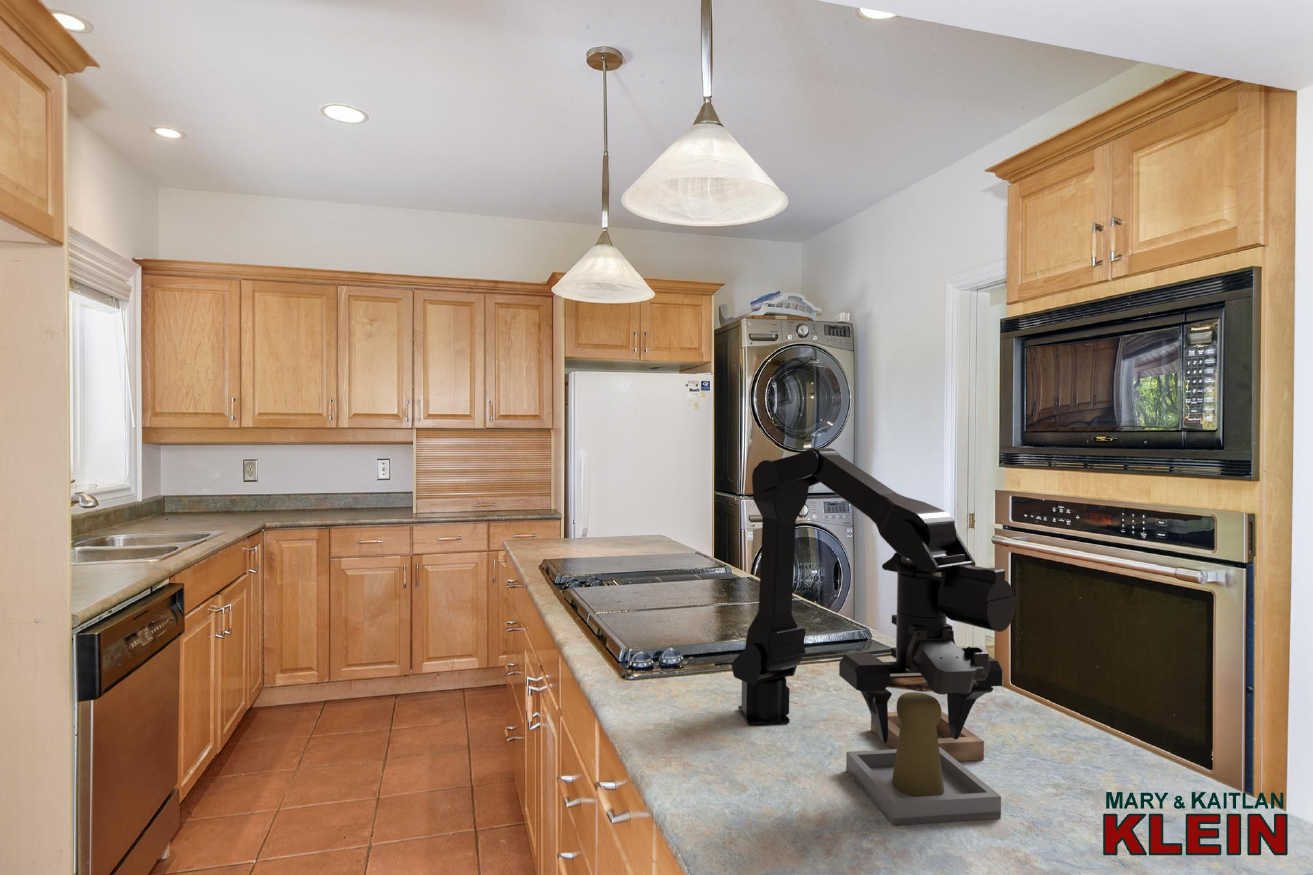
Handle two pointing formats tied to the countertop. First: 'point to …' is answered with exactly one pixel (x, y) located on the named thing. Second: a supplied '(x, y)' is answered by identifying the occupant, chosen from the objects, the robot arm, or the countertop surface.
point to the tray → (956, 803)
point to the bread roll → (910, 683)
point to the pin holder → (941, 739)
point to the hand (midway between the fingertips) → (919, 739)
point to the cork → (918, 746)
